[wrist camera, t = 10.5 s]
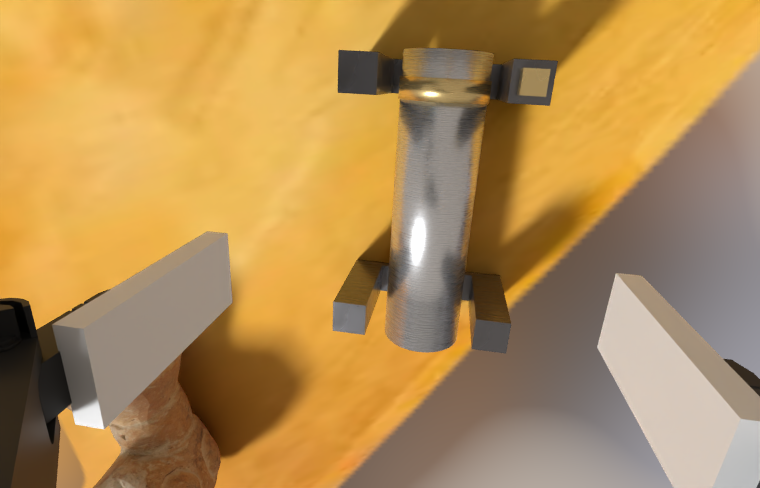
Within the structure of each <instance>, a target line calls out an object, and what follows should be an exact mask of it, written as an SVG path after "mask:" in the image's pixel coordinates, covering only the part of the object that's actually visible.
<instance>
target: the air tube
mask: <svg viewBox="0 0 760 488" xmlns="http://www.w3.org/2000/svg"><path fill="white" fill-rule="evenodd" d="M493 56H494V54H493V53H490V52H483V51H474V50H461V49H442V48H407V49H403V61H402V76H400V80H399V96H398V98H399V99H400V107H399V122H398V137H397V153H396V168H395V183H394V198H393V214H392V229H391V244H390V259H389V275H388V290H387V305H386V320H385V333H386V335H387V337H388V338H389V339H390V340H391V341H392V342H393V343H394V344H396V345H398V346H400V347H402V348H405V349H408V350H412V351H417V352H437V351H441V350H444V349H447V348H449V347H450V346H452V345H453V344H454V343H455V341H456V338H457V330H458V323H459V315H460V307H461V300H462V292H463V285H464V277H465V269H466V262H467V254H468V246H469V239H470V231H471V224H472V216H473V208H474V201H475V193H476V185H477V178H478V170H479V163H480V155H481V147H482V140H483V132H484V124H485V117H486V109H487V104H489V100H490V93H491V85H492V81H490V79H491V71H492V64H493Z"/></svg>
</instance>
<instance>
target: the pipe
mask: <svg viewBox="0 0 760 488" xmlns="http://www.w3.org/2000/svg"><path fill="white" fill-rule="evenodd" d="M181 355H182V353H181V354H180V355H179V356H178V357H177V358H176V359H175V360H174V361H173V362H172V363H171V364H170V365H169V366H168V367H167V368H166V369H165V370H164V371H163V372H162V373H161V374H160V375H159V376H158V377H157V378H156V379H155V380H154V381H153V382H152V383H151V384H150V385H149V386H148V387H146V388H145V389H144V390H143V391H142V392H141V393H140V394H139V395H138V396H137V397H136V398H135V399H134V400H133V401H132V402H131V403H130V404H129V405H128V406H127V407H126V408H125V409H124V410H123V411H122V412H121V413H120V414H119V415H118V416H117V417H116V418H115V419H114V420H113V421H112V422H111V423H110V424H109V427H110V429H111V432H112V434H113V437H114V438H115V439H116V441H117V442H118V443H119V445H120V446H121V453H120V455H119V456H118V458H117V459H116V460H115V462H114V463H113V464H112V466H111V467H110V468H109V469H108V471H107V472H106V473H105V474H104V476H103V477H102V478H101V479H100V480H99V482H98V483H97V484H96V485H95V486H94V487H93V488H214V487H215V484H216V480H217V473H218V470H219V466H220V452H219V447H218V445H217V444H216V442H215V440H214V439H213V437H212V436H211V435H210V433H209V431H208V429H207V428H206V426H205V425H204V424H203V423H202V422H201V420H200V419H199V417H198V416H196V415H195V414H193V413H192V410H191V407H190V404H189V400H188V398H187V396H186V394H185V392H184V391H183V389H182V387H181V385H180V384H179V382H178V375H179V370H180V362H181ZM67 408H68V409H70V410H72V408H71V404H70V405H69V406H68V407H67Z"/></svg>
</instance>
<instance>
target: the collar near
mask: <svg viewBox="0 0 760 488" xmlns="http://www.w3.org/2000/svg"><path fill="white" fill-rule="evenodd" d="M402 61H403V60H400V59H393V58H391V57H388V56H386V55H384V54H382V53H379V52H367V51H347V50H339V59H338V93H354V94H370V95H380V94H388V93H399V80H400V76H402ZM557 62H558V61H549V60H529V59H512V60H510V61H508V62H506V63H503V64H501V65H497V64H492V71H491V79H490V81H492V85H491V93H490V99H497V100H500V101H503V102H506V103H515V104H531V105H547V106H550V102H551V96H552V91H553V85H554V79H555V74H556V68H557Z"/></svg>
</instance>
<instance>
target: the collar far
mask: <svg viewBox="0 0 760 488" xmlns="http://www.w3.org/2000/svg"><path fill="white" fill-rule="evenodd" d="M388 275H389V263H383V262H374V261H365V260H357V261H356V262H355V264H354V266H353V268H352V270H351V271H350V273H349V275H348V277H347V278H346V280H345V282H344V284H343V286H342V287H341V289H340V291H339V293H338V295H337V296H336V298H335V300H334V302H333V331H340V332H348V333H355V334H363V335H365V332H366V329H367V327H368V324H369V321H370V318H371V315H372V313H373V310H374V307H375V304H376V302H377V299H378V296H379V293H380V291H381V290H383V291H387V290H388ZM462 300H467V301H469V316H470V331H471V346H472V349H476V350H484V351H492V352H500V353H506V350H507V345H508V339H509V333H510V328H511V321H510V316H509V312H508V308H507V304H506V300H505V295H504V291H503V287H502V283H501V279H500V275H491V274H482V273H473V272H465V277H464V285H463V292H462Z"/></svg>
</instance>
